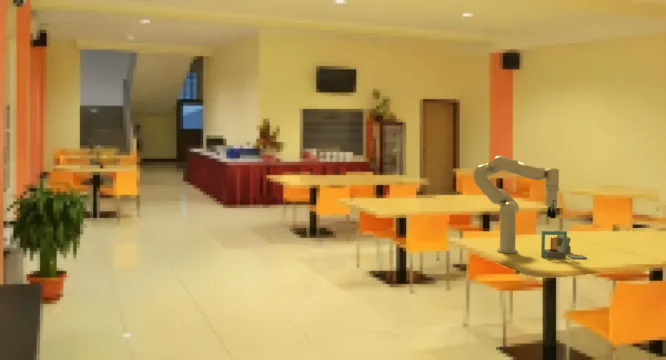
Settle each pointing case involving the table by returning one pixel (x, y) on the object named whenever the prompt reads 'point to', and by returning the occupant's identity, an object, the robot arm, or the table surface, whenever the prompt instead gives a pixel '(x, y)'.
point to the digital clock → (560, 243)
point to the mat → (577, 257)
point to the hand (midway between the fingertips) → (551, 217)
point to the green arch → (553, 234)
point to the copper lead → (553, 244)
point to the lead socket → (554, 254)
